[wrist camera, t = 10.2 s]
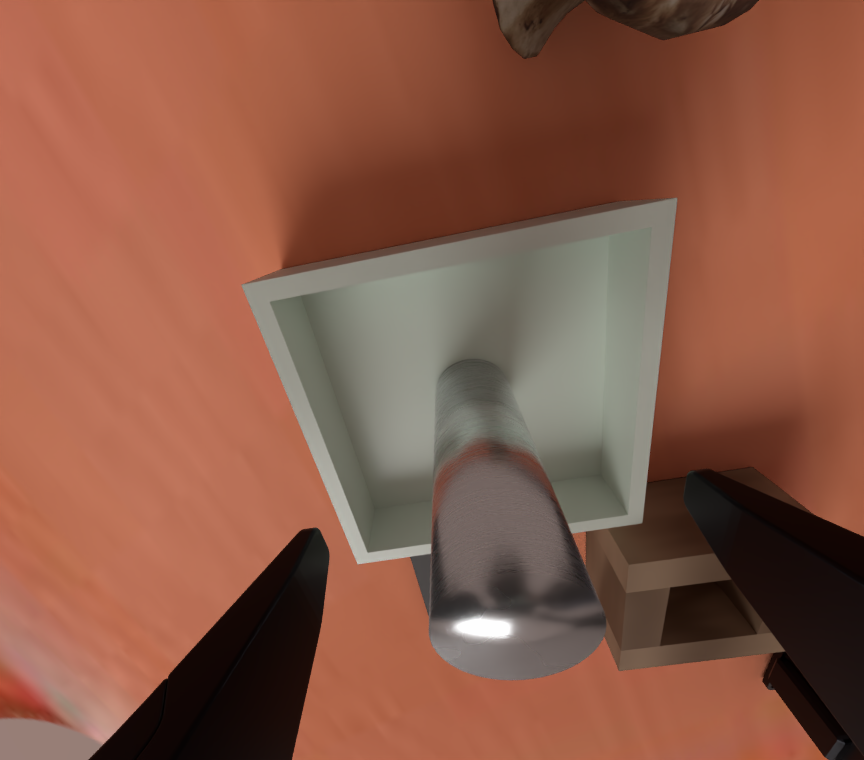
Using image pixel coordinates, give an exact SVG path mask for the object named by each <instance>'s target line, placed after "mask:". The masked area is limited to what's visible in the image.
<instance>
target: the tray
mask: <svg viewBox="0 0 864 760" xmlns="http://www.w3.org/2000/svg"><path fill="white" fill-rule="evenodd" d="M676 206H677V198H664V199H647V200H631V201H618V202H613V203H608V204H603V205H598V206H593V207H588V208H583V209H578V210H573V211H568V212H563V213H558V214H553V215H548V216H544V217H539V218H534V219H529V220H524V221H519V222H514V223H509V224H504V225H499V226H494V227H489V228H484V229H479V230H474V231H469V232H464V233H459V234H454V235H449V236H444V237H439V238H434V239H429V240H424V241H419V242H414V243H409V244H404V245H399V246H394V247H389V248H385V249H380V250H375V251H370V252H365V253H360V254H355V255H350V256H345V257H340V258H335V259H330V260H325V261H320V262H315V263H310V264H305V265H300V266H295V267H290V268H285V269H281V270H278V271H275V272H273V273H270V274H268V275H265V276H263V277H260V278H257V279H255V280H252V281H250V282H247V283H245V284H242V288H243V290H244V292H245V295H246V297H247V300H248V302H249V304H250V307H251V309H252V312H253V314H254V316H255V319H256V321H257V324H258V326H259V328H260V331H261V333H262V336H263V338H264V340H265V343H266V345H267V348H268V350H269V352H270V355H271V357H272V360H273V362H274V364H275V367H276V369H277V372H278V374H279V376H280V379H281V381H282V384H283V386H284V388H285V391H286V393H287V396H288V398H289V400H290V403H291V405H292V408H293V410H294V412H295V415H296V417H297V420H298V422H299V424H300V427H301V429H302V432H303V434H304V436H305V439H306V441H307V444H308V446H309V448H310V451H311V453H312V456H313V458H314V461H315V463H316V465H317V468H318V470H319V473H320V475H321V477H322V480H323V482H324V485H325V487H326V489H327V492H328V494H329V497H330V499H331V501H332V504H333V506H334V509H335V511H336V513H337V516H338V518H339V521H340V523H341V525H342V528H343V530H344V533H345V535H346V537H347V540H348V542H349V545H350V547H351V549H352V552H353V554H354V557H355V559H356V561H357V564H363V563H370V562H376V561H383V560H390V559H397V558H404V557H411V556H418V555H425V554H431V533H432V497H433V461H434V425H435V390H436V385H437V382H438V379H439V377H440V376H441V374H442V373H443V372H444V371H445V370H446V369H447V368H448V367H449V366H451V365H452V364H454V363H456V362H458V361H461V360H465V359H483V360H486V361H489V362H491V363H493V364H495V365H496V366H498V367H499V368H500V369H501V370H502V371H503V373H504V374H505V375H506V377H507V380H508V382H509V384H510V387H511V389H512V392H513V394H514V396H515V399H516V401H517V403H518V406H519V408H520V411H521V413H522V415H523V418H524V420H525V423H526V425H527V427H528V430H529V432H530V435H531V437H532V439H533V442H534V444H535V447H536V449H537V451H538V454H539V456H540V459H541V461H542V463H543V466H544V468H545V471H546V473H547V475H548V478H549V480H550V483H551V485H552V487H553V490H554V492H555V495H556V497H557V499H558V502H559V504H560V507H561V509H562V511H563V514H564V516H565V519H566V521H567V523H568V526H569V528H570V531H571V533H578V532H585V531H592V530H599V529H606V528H613V527H620V526H627V525H634V524H641V523H642V521H643V512H644V503H645V494H646V484H647V475H648V466H649V457H650V447H651V438H652V429H653V420H654V410H655V401H656V392H657V382H658V373H659V364H660V355H661V345H662V336H663V327H664V318H665V308H666V299H667V290H668V281H669V271H670V262H671V253H672V243H673V234H674V225H675V216H676Z"/></svg>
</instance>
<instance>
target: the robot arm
mask: <svg viewBox="0 0 864 760" xmlns="http://www.w3.org/2000/svg"><path fill="white" fill-rule="evenodd" d="M683 499H684V503H685V506H686V508H687V510H688V511H689V513H690V514H691V516H692V518H693V519H694V521H695V523H696V524H697V526H698V527H699V529H700V531H701V532H702V534H703V536H704V537H705V539H706V541H707V542H708V544H709V545H710V547H711V549H712V550H713V552H714V554H715V555H716V557H717V558H718V560H719V562H720V563H721V565H722V566H723V568H724V569H725V571H726V572H727V574H728V575H729V576H730V578H731V579H732V581H733V582H734V583H735V585H736V586H737V587H738V589H739V590H740V591H741V593H742V594H743V595H744V597H745V598H746V599H747V601H748V602H749V603H750V605H751V606H752V607H753V609H754V610H755V611H756V613H757V614H758V615H759V617H760V618H761V619H762V621H763V622H764V623H765V625H766V626H767V627H768V629H769V630H770V631H771V633H772V634H773V636H774V637H775V638H776V640H777V641H778V642H779V644H780V645H781V646H782V648H783V649H784V650H785V651H784V652H776V653H774V655H773V658H772V660H771V662H770V664H769V667H768V669H767V671H766V674H765V676H764V678H763V681H762V682H763V683H764V684H765V686H766V687H767V689H769V690H776V692H777V693H778V694H779V696H780V697H781V698H782V700H783V701H784V703H785V704H786V705H787V707H788V708H789V709H790V711H791V712H792V713H793V715H794V716H795V718H796V719H797V720H798V722H799V723H800V724H801V726H802V727H803V728H804V730H805V731H806V733H807V734H808V735H809V737H810V738H811V739H812V741H813V742H814V743H815V745H816V746H817V747H818V749H819V750H820V752H821V753H822V754H823V756H824V757H826V758H827V759H828V760H864V537H863V536H861V535H859V534H856V533H854V532H852V531H850V530H847V529H845V528H843V527H840V526H838V525H836V524H834V523H831V522H829V521H827V520H825V519H822V518H820V517H818V516H816V515H813V514H811V513H809V512H806V511H804V510H802V509H800V508H797V507H795V506H793V505H791V504H788V503H786V502H784V501H781V500H779V499H777V498H775V497H772V496H770V495H768V494H766V493H763V492H761V491H759V490H757V489H754V488H752V487H750V486H747V485H745V484H743V483H741V482H738V481H736V480H734V479H732V478H729V477H727V476H725V475H722V474H720V473H718V472H716V471H713V470H711V469H700V470H693V471H690V472H689V473H688V474H687V477H686V483H685V489H684V494H683ZM328 566H329V549H328V547H327V545H326V542H325V540H324V538H323V536H322V534H321V532H320V530H319V529H318V528H309V529H303V530H301V531H300V532H299V533H298V534H297V535H296V536H295V537H294V538H293V539H292V540H291V541H290V542H289V543H288V545H287V546H286V547H285V548H284V549H283V550H282V551H281V552H280V553H279V554H278V556H277V557H276V558H275V559H274V560H273V561H272V562H271V563H270V564H269V565H268V567H267V568H266V569H265V570H264V571H263V572H262V573H261V574H260V575H259V576H258V577H257V579H256V580H255V581H254V582H253V583H252V584H251V585H250V586H249V587H248V588H247V590H246V591H245V592H244V593H243V594H242V595H241V596H240V597H239V598H238V599H237V601H236V602H235V603H234V604H233V605H232V606H231V607H230V608H229V609H228V610H227V611H226V613H225V614H224V615H223V616H222V617H221V618H220V619H219V620H218V621H217V622H216V624H215V625H214V626H213V627H212V628H211V629H210V630H209V631H208V632H207V633H206V635H205V636H204V637H203V638H202V639H201V640H200V641H199V642H198V643H197V644H196V646H195V647H194V648H193V649H192V650H191V651H190V652H189V653H188V654H187V655H186V656H185V658H184V659H183V660H182V661H181V662H180V663H179V664H178V665H177V666H176V667H175V669H174V670H173V671H172V672H171V673H170V674H169V676H168V679H165V680H163V682H162V683H161V684H160V685H159V686H158V687H157V688H156V689H155V690H154V691H153V693H152V694H151V695H150V696H149V697H148V698H147V699H146V700H145V701H144V702H143V703H142V704H141V706H140V707H139V708H138V709H137V710H136V711H135V712H134V713H133V714H132V715H131V716H130V717H129V718H128V719H127V720H126V722H125V723H124V724H123V725H122V726H121V727H120V728H119V729H118V730H117V731H116V732H115V733H114V734H113V735H112V736H111V737H110V738H109V739H108V740H107V741H106V742H105V743H104V744H103V745H102V747H100V748H99V750H98V751H97V752H96V753H95V754H94V755H93V756H92V757H91V758H90V759H89V760H292V757H293V752H294V747H295V743H296V738H297V734H298V729H299V725H300V720H301V716H302V711H303V706H304V702H305V697H306V693H307V688H308V684H309V679H310V675H311V670H312V665H313V661H314V656H315V652H316V647H317V643H318V638H319V633H320V628H321V623H322V616H323V608H324V599H325V591H326V583H327V574H328Z"/></svg>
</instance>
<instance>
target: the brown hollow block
mask: <svg viewBox="0 0 864 760" xmlns="http://www.w3.org/2000/svg"><path fill="white" fill-rule="evenodd" d="M718 473H720V474H722V475H725V476H727V477H729V478H732V479H734V480H736V481H738V482H741V483H743V484H745V485H747V486H750V487H752V488H754V489H757V490H759V491H761V492H763V493H766V494H768V495H770V496H772V497H775V498H777V499H779V500H781V501H784V502H786V503H788V504H791V505H793V506H795V507H797V508H800V509H802V510H804V511H806V512H809V513H811V512H810V511H809V510H808V509H806V508H805V507H804V506H802V505H801V504H800V503H798V502H797V501H796V500H795V499H793V498H792V497H791V496H789V495H788V494H787V493H786V492H784V491H783V490H782V489H780V488H779V487H778V486H777V485H775V484H774V483H773V482H771V481H770V480H769V479H767V478H766V477H765V476H764V475H762V474H761V473H760V472H758V471H757V470H756V469H755V468H753V467H750V468H744V469H737V470H730V471H724V472H718ZM685 483H686V477H684V478H677V479H670V480H664V481H657V482H651V483H647V484H646V494H645V503H644V512H643V521H642V523H641V524H634V525H627V526H620V527H613V528H606V529H599V530H592V531H586V569H587V571H588V574H589V576H590V579H591V581H592V583H593V586H594V588H595V591H596V593H597V595H598V598H599V600H600V603H601V605H602V607H603V610H604V613H605V616H606V632H605V635H604V637H605V639H606V641H607V644H608V646H609V648H610V651H611V653H612V655H613V658H614V660H615V663H616V665H617V667H618V670H619V671H623V670H632V669H640V668H649V667H657V666H666V665H674V664H683V663H691V662H700V661H708V660H716V659H725V658H733V657H742V656H750V655H759V654H767V653H776V652H784V651H785V650H784V649H783V648H782V646H781V645H780V644H779V642H778V641H777V640H776V638H775V637H774V636H773V634H772V633H771V631H770V630H769V629H768V627H767V626H766V625H765V623H764V622H763V621H762V619H761V618H760V617H759V615H758V614H757V613H756V611H755V610H754V609H753V607H752V606H751V605H750V603H749V602H748V601H747V599H746V598H745V597H744V595H743V594H742V593H741V591H740V590H739V589H738V587H737V586H736V585H735V583H734V582H733V581H732V579H731V578H730V576H729V575H728V574H727V572H726V571H725V569H724V568H723V566H722V565H721V563H720V562H719V560H718V558H717V557H716V555H715V554H714V552H713V550H712V549H711V547H710V545H709V544H708V542H707V541H706V539H705V537H704V536H703V534H702V532H701V531H700V529H699V527H698V526H697V524H696V523H695V521H694V519H693V518H692V516H691V514H690V513H689V511H688V510H687V508H686V506H685V503H684V499H683V494H684V489H685ZM811 514H813V513H811ZM813 515H814V514H813Z"/></svg>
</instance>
